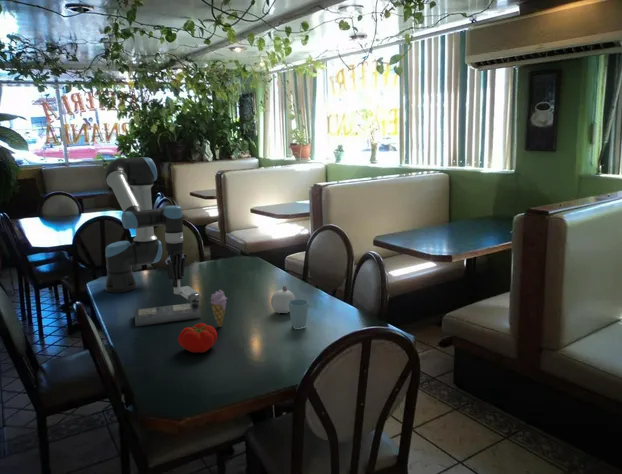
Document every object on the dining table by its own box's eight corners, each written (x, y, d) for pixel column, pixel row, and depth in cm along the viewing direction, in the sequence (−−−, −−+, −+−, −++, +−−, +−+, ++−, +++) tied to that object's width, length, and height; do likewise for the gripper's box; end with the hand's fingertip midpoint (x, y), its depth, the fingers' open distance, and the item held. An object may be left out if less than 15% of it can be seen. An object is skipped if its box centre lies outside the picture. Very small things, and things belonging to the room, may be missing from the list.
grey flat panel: (188, 289, 230) (187, 284, 230) (203, 299, 216) (203, 294, 216) (176, 292, 227) (175, 286, 227) (191, 302, 213) (190, 296, 213)
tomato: (182, 361, 170) (181, 336, 168) (176, 347, 181) (175, 324, 180) (222, 353, 175) (221, 330, 174) (214, 340, 187) (213, 318, 185)
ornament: (299, 310, 217) (298, 284, 215) (288, 318, 208) (287, 290, 206) (278, 307, 222) (277, 281, 219) (267, 315, 213) (266, 288, 210)
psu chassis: (135, 316, 213) (134, 304, 212) (198, 308, 222) (197, 297, 221) (135, 326, 202) (134, 313, 201) (202, 317, 210) (201, 305, 209)
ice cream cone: (231, 324, 202) (230, 289, 199) (224, 330, 196) (222, 293, 193) (217, 323, 204) (215, 287, 201) (209, 328, 198) (207, 292, 195)
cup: (302, 332, 194) (302, 306, 192) (285, 329, 197) (285, 303, 195) (311, 325, 200) (311, 300, 198) (294, 322, 204) (294, 298, 202)
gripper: (172, 245, 210) (174, 298, 215) (190, 239, 222) (193, 290, 227) (157, 243, 213) (160, 296, 218) (177, 238, 225) (179, 288, 229)
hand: (177, 293), depth 222 cm, fingers closed
